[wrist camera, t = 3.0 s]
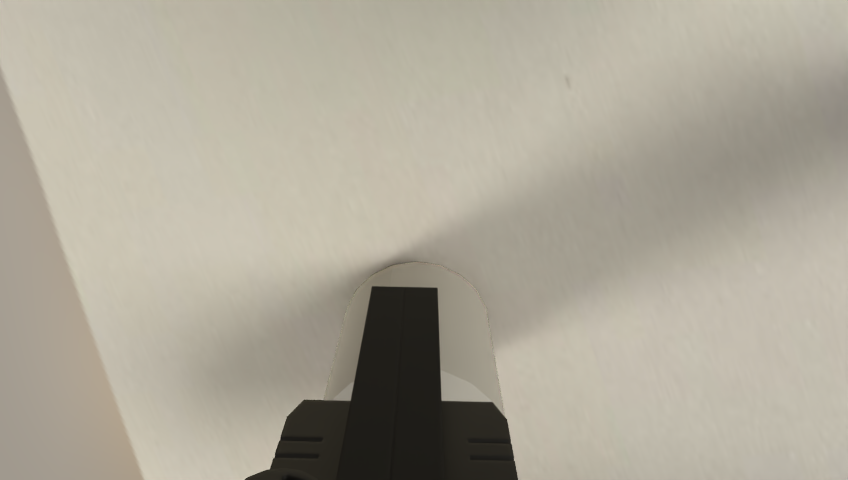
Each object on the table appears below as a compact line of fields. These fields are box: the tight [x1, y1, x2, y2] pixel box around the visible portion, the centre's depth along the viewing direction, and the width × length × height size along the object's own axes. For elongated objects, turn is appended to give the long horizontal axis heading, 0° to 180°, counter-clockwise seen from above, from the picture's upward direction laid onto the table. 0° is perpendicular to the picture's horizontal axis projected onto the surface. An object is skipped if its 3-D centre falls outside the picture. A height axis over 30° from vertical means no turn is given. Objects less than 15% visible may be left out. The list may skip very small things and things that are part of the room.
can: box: [323, 262, 505, 417], centre depth 29 cm, size 8×8×12 cm
